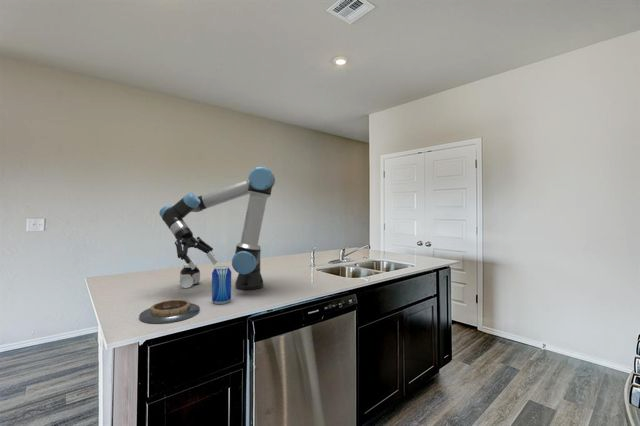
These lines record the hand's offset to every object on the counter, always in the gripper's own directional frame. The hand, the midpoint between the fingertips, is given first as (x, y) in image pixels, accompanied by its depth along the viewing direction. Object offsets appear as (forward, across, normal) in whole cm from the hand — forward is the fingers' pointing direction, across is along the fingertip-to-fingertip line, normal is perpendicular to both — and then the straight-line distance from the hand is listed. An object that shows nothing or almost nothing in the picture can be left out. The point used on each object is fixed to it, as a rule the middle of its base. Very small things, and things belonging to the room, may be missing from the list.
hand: (205, 265), depth 142 cm
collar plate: (+12, +20, -11) cm, 26 cm away
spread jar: (-7, -16, -30) cm, 35 cm away
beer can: (+18, 0, -5) cm, 19 cm away
